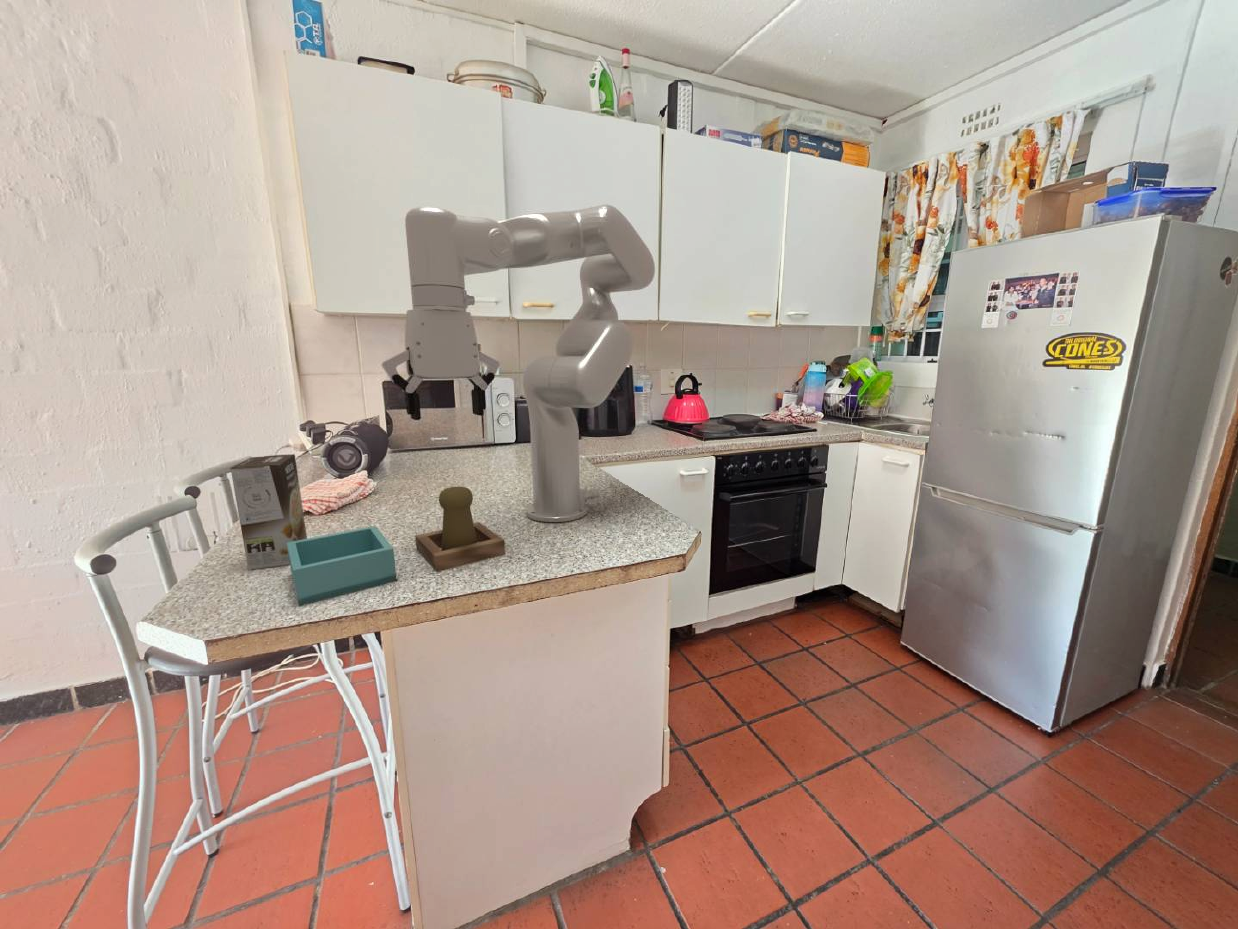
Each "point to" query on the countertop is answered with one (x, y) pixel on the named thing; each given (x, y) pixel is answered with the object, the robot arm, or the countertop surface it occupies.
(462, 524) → the cork
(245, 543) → the coffee box
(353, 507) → the countertop surface
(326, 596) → the teal bin
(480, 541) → the walnut collar
